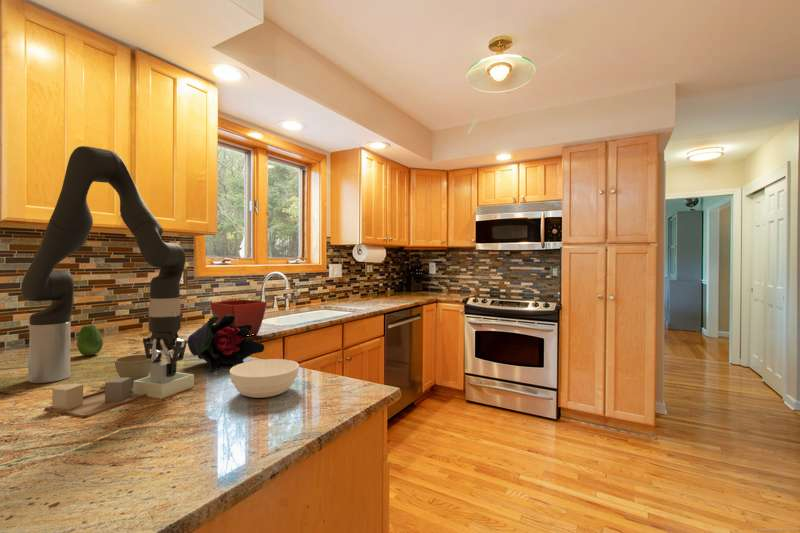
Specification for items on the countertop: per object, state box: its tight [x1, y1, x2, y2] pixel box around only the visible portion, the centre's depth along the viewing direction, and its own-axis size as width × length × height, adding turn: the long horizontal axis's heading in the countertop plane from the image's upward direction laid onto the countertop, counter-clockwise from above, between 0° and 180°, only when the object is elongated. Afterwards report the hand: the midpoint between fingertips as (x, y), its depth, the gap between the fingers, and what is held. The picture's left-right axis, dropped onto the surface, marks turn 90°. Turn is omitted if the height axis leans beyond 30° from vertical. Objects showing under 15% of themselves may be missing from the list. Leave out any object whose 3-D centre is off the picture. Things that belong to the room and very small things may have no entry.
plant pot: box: [210, 299, 267, 335], centre depth 186 cm, size 19×19×17 cm
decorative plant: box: [186, 314, 265, 372], centre depth 130 cm, size 21×26×30 cm
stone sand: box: [51, 383, 84, 410], centre depth 92 cm, size 4×4×5 cm
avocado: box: [76, 323, 104, 357], centre depth 144 cm, size 8×8×12 cm
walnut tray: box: [44, 389, 148, 419], centre depth 95 cm, size 14×16×1 cm
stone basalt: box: [104, 377, 133, 402], centre depth 97 cm, size 4×4×5 cm
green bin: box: [132, 371, 195, 400], centre depth 105 cm, size 10×10×4 cm
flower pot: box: [114, 353, 153, 384], centre depth 114 cm, size 10×10×7 cm
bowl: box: [229, 358, 300, 399], centre depth 105 cm, size 18×18×7 cm
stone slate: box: [149, 359, 174, 384], centre depth 104 cm, size 4×4×5 cm
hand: (164, 374), depth 105 cm, fingers open, 4 cm apart
